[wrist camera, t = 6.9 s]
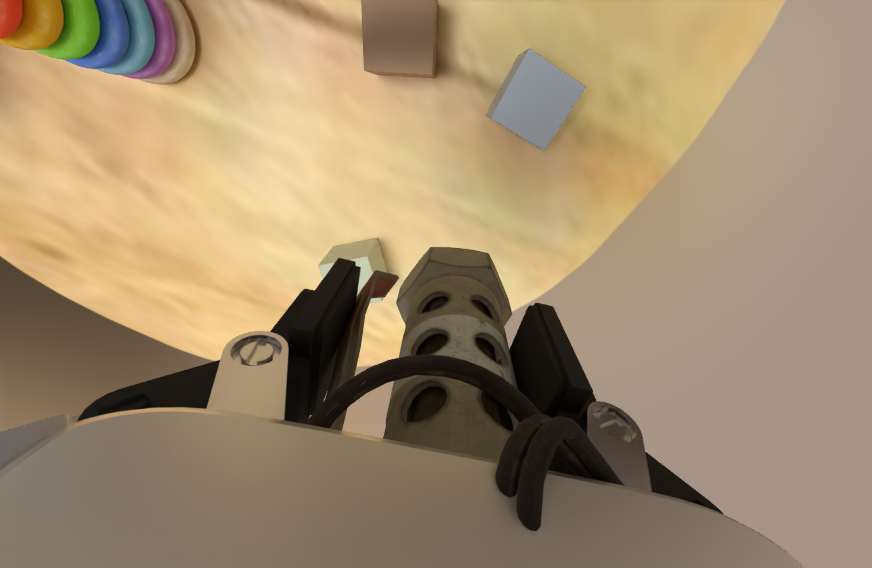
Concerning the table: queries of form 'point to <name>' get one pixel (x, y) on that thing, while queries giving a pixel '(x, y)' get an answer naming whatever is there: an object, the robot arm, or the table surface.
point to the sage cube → (357, 260)
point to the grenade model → (460, 380)
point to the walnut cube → (400, 37)
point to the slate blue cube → (535, 99)
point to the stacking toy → (105, 35)
